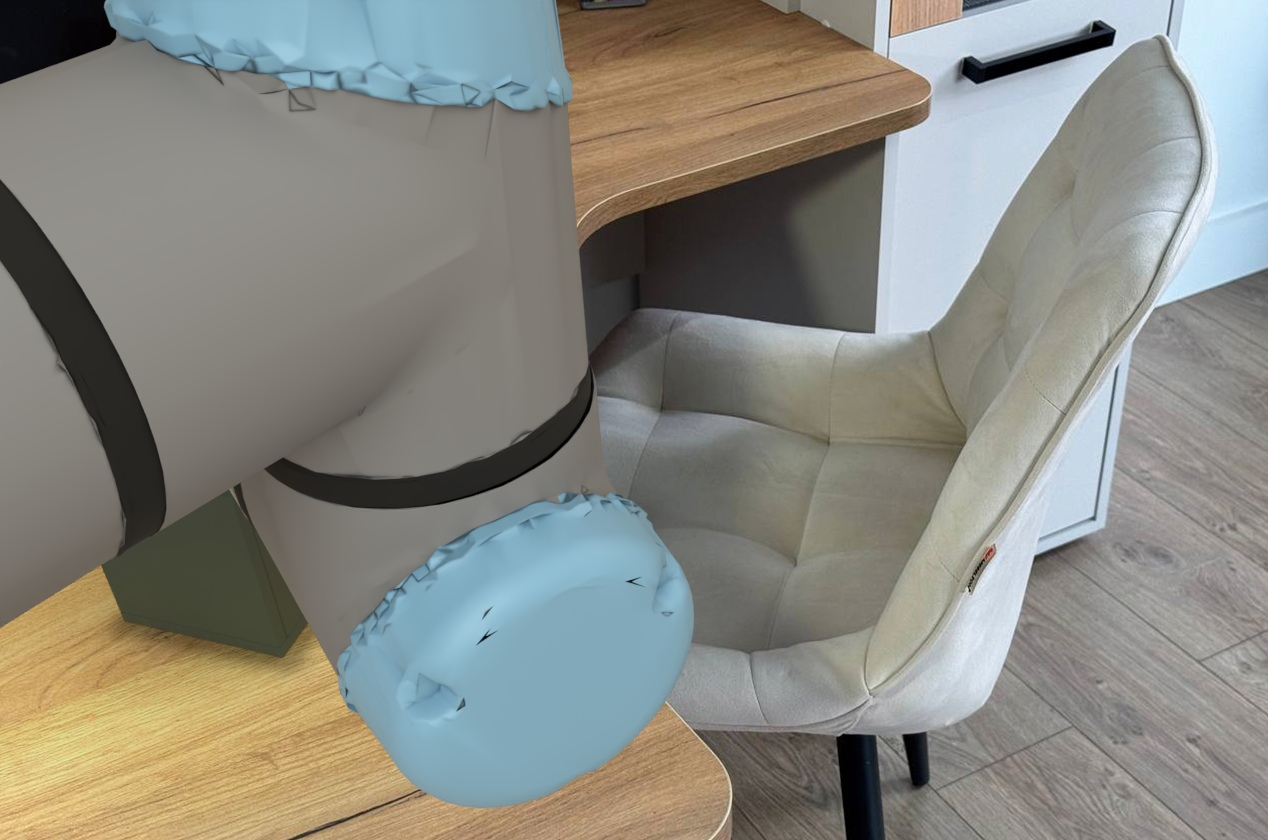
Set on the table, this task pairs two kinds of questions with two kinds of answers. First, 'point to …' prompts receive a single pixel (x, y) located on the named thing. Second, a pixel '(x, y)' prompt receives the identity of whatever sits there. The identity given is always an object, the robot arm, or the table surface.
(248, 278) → the robot arm
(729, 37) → the table surface
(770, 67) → the table surface
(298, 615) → the trash bin
